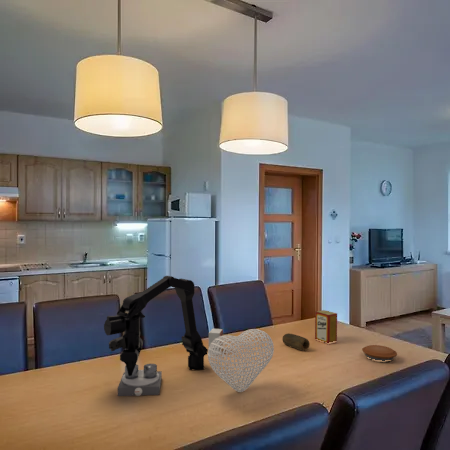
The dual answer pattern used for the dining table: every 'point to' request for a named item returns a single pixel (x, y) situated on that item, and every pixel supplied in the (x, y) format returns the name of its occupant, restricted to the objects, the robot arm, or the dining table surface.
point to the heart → (233, 340)
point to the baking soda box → (326, 326)
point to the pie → (379, 352)
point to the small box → (213, 335)
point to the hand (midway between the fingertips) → (131, 371)
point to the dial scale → (140, 385)
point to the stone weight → (296, 341)
